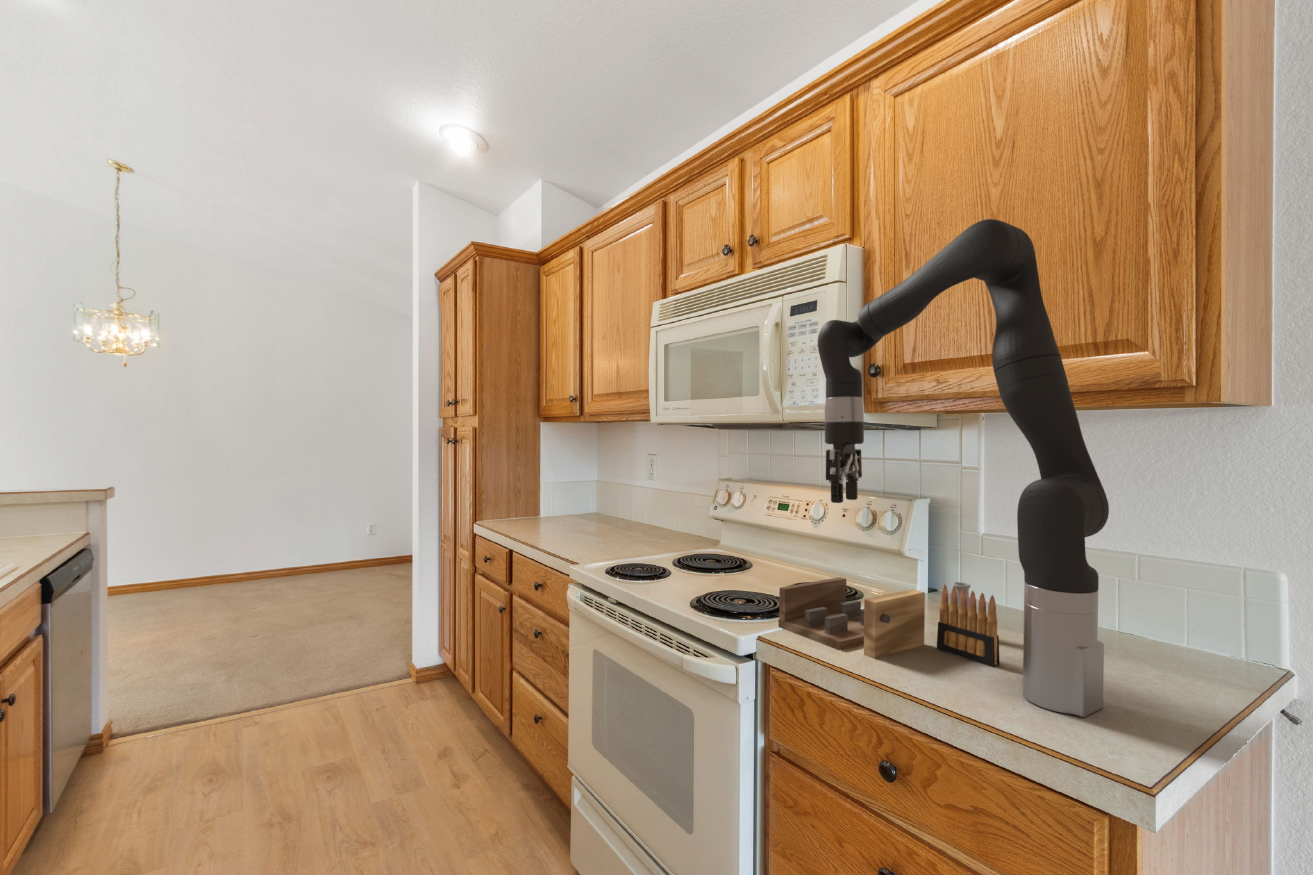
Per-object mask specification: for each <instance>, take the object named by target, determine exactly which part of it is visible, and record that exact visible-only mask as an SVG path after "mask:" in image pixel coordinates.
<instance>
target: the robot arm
mask: <svg viewBox="0 0 1313 875" xmlns="http://www.w3.org/2000/svg"><path fill="white" fill-rule="evenodd" d="M971 279H977V280H980V281H983V282H984V283H985V286H986V288H987V290H988V293H989V295H990V298H991V301H992V306H993V309H994V313H995V332H994V337H993V338H994V339H993V344H992V351H991V360H992V369H993V370H992V371H993V373H994V376H995V382H996V386H997V390H998V392H999V395H1000V398H1001V402H1002V404H1003V406H1004V408H1005V410H1006V411H1007V412H1008V414H1009V416H1010V417H1011V419H1012V420H1013V421H1014V424H1015V425H1016V426H1017V428H1018V429H1019V431H1020V432H1021V434H1022V435H1023V436H1024V437H1025V439H1026V441H1028V443H1029V446H1030V448H1032V452H1033V454H1034V456H1035V459H1036V463H1037V466H1038V470H1039V475H1040V479H1037V480H1034V481H1033V482H1030V483H1029V484H1028V485H1026V487H1025V488H1024V489H1023V491H1022V492H1021V494H1020V496H1019V500H1018V505H1017V520H1016V522H1017V545H1018V546H1017V548H1018V550H1017V552H1018V558H1019V563H1020V565H1021V567H1022V570H1023V575H1024V579H1023V580H1024V581H1023V582H1024V585H1023V587H1024V589H1023V592H1024V593H1023V647H1022V648H1023V649H1022V650H1023V651H1022V656H1023V657H1022V660H1023V661H1022V668H1023V669H1022V695H1023V697H1024V698H1025V699H1026V700H1027V701H1028V702H1030V703H1032V704H1033V705H1036V706H1038V707H1041V708H1044V709H1046V710H1050V711H1054V712H1058V713H1061V714H1062V713H1063V714H1069V715H1074V716H1075V715H1076V716H1078V717H1081V718H1084V717H1087V716H1089V715H1091V714H1093V713H1095V712H1097V711H1099V710H1102V709H1103V708H1104V678H1105V677H1104V676H1105V675H1104V672H1105V671H1104V665H1105V661H1104V660H1105V655H1104V654H1105V644H1104V642H1102V641H1100V640H1098V639H1099V638H1098V635H1099V634H1098V632H1099V630H1098V629H1099V624H1098V623H1099V587H1100V586H1099V583H1100V582H1099V573H1098V571H1097V570H1096V569H1095V568H1094V567H1092V566H1091V565H1090V564H1089V563H1088V559H1087V556H1086V538H1088V537H1092V536H1094V535H1096V534H1098V533H1099V532H1100V531H1101V530H1103V528H1104V527H1105V526H1106V524H1107V521H1108V519H1109V515H1110V513H1109V512H1110V506H1109V500H1108V497H1107V494H1106V491H1105V489H1104V487H1103V484H1102V481H1101V480H1100V477H1099V475H1098V472H1097V470H1096V468H1095V465H1094V462H1093V461H1092V458H1091V455H1090V454H1089V451H1088V448H1087V446H1086V442H1085V440H1084V436H1083V434H1082V430H1081V427H1080V426H1081V425H1080V422H1079V418H1078V414H1077V409H1076V408H1075V403H1074V401H1073V397H1072V394H1071V390H1070V386H1069V381H1068V377H1067V373H1066V371H1065V370H1066V369H1065V367H1064V363H1063V360H1062V357H1061V356H1062V355H1061V353H1060V350H1059V347H1058V345H1057V341H1056V338H1055V334H1054V331H1053V327H1052V324H1051V320H1050V318H1049V314H1048V312H1047V309H1046V306H1045V303H1044V299H1043V295H1042V289H1041V284H1040V277H1039V271H1038V263H1037V256H1036V251H1035V246H1034V243H1033V241H1032V239H1031V237H1030V236H1029V234H1028V233H1026V232H1025V231H1024V230H1023V229H1021V228H1019V227H1017V226H1014V225H1012V224H1009V223H1007V222H1005V221H1002V220H999V219H995V218H994V219H992V218H988V219H983V220H982V219H981V220H980V221H977V222H975V223H973V224H972V225H970V226H969V227H967V228H966V229H965V230H963V231H962V232H961V233H960V234H958V235H957V236H956V237H955V238H954V239H952V240H951V242H949V243H948V244H947V245H946V246H944V247H943V248H942V249H941V250H940V251H939V252H937V254H935V255H934V256H933V257H932V258H930V259H929V260H928V261H926V263H924V264H923V265H922V266H920V267H919V268H918V269H917V270H916V271H915V272H913V273H912V274H911V275H909V276H908V277H907V278H906V279H904V280H903V281H901V282H900V283H898V284H896V285H895V286H894V287H892V288H891V289H889V290H887V291H886V292H884V293H882V294H881V295H879V296H876V298H874V299H873V300H871V301H870V302H868V303H866V304H865V305H864V306H862V307H861V308H860V310H859V312H858V317H857V318H858V320H855V321H846V320H839V319H832V320H829V321H827V322H825V323H824V324H823V325H822V326H821V328H820V331H819V332H818V336H817V350H818V351H817V352H818V354H819V359H820V362H821V366H822V370H823V374H824V376H825V406H824V443H825V444H827V445H833V447H832V449H826V450H825V480H826V481H828V483H829V484H830V502H831V503H834V504H841V503H843V502H844V480H845V499H846V500H850V501H855V500H857V499H858V497H859V495H858V492H859V491H858V482H859V481H860V479H862V477H863V471H862V470H863V469H862V468H863V467H862V466H863V465H862V449H860V448H858V449H857V448H856V445H862V444H864V441H865V430H864V427H865V426H864V425H865V424H864V422H865V420H864V417H865V416H864V413H865V412H864V405H863V377H862V373H861V371H860V370H859V369H857V368H856V367H854V366H853V365H852V364H851V360H850V358H856V357H859V356H862V355H863V354H865V353H867V352H868V351H869V350H871V349H872V348H873V347H874V346H875V345H877V344H878V343H879V342H880V341H881V340H882V339H883V337H885V336H888V335H889V334H891V333H893V332H894V331H896V330H898V329H900V328H902V327H903V326H906V325H907V324H909V323H910V322H911V321H913V320H914V319H916V318H917V317H918V316H919V315H921V313H923V311H924V310H925V309H926V308H927V307H928V306H929V305H930V303H931V302H933V300H934V299H935V298H937V296H939V295H940V294H942V293H943V292H945V291H946V290H948V289H950V288H951V287H954V286H956V285H959V284H961V283H963V282H966V281H969V280H971Z"/></svg>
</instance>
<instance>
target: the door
mask: <svg viewBox="0 0 1313 875" xmlns="http://www.w3.org/2000/svg"><path fill="white" fill-rule="evenodd" d="M863 601H864V604H863V606H864V608H863V609H864V644H863V655H864V656H866V657H868V656H869V658H871V659H874V660H876V659H879V658H882V657H886V656H890V655H889V654H891V655H893V654H896V653H898V654H899V653H900V651H901V652H905V651H908V650H911V649H915V648H918V647H921V646H925V625H926V624H925V623H926V622H925V620H926V619H925V618H926V617H925V613H926V612H925V611H926V607H925V605H926V602H925V601H926V592H925V591H922V590H918V589H914V588H913V589H909V590H904V591H898V592H894V593H889V594H885V595H884V594H883V595H880V596H874V597H870V598H865V599H863ZM907 649H908V650H907Z"/></svg>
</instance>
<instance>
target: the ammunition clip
mask: <svg viewBox="0 0 1313 875" xmlns="http://www.w3.org/2000/svg"><path fill="white" fill-rule="evenodd" d="M948 592H949V591H948V588H947V585H946V584H943V586H942V590H941V595H940V606H939V621H938V622H937V636H936V650H938V649H939V651H941V652H944V653H948V654H951V655H954V656H957V657H960V658H963V659H967V660H968V661H969V660H970V661H972V662H975V663H979V664H981V665H985V666H988V667H991V668H994V667H998V666H1000V664H1001V662H1000V638H999V634H998V618H997V605H996V604H997V603H996V600H995V599H996V598H995V597H994V595H993V594H992V595H990V598H989V601H988V610H987V602H986V598H985V595H984V593H983V592H981V594H980V595H979V600H978V605H977V597H976V593H975V591H974V590H972V591H971V592H970V593H969V609H968V611H967V597H966V592H965V590H964V589H962V591H961V594H960V604H959V611H958V603H957V592H956V589H955V587H954V586H953V587H952V589H951V592H950V597H949V593H948ZM977 606H978V609H977Z"/></svg>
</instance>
